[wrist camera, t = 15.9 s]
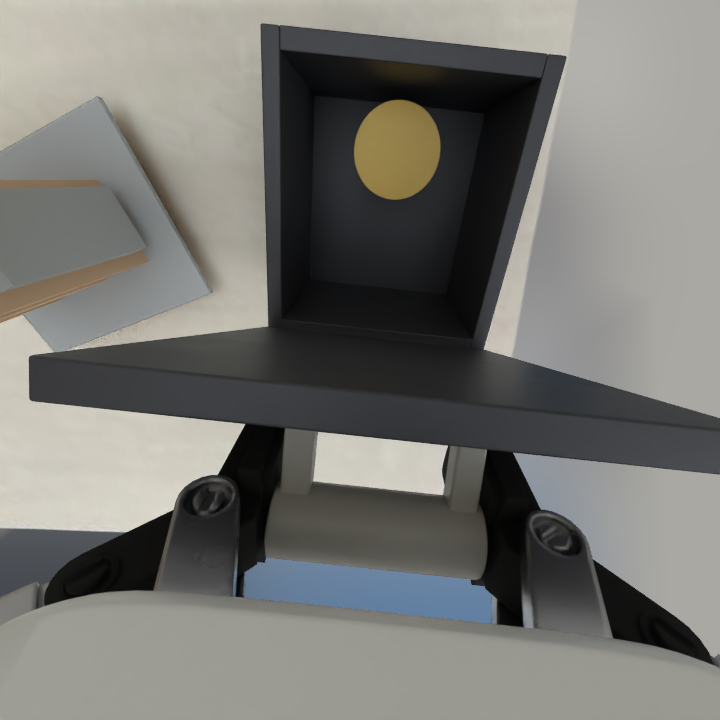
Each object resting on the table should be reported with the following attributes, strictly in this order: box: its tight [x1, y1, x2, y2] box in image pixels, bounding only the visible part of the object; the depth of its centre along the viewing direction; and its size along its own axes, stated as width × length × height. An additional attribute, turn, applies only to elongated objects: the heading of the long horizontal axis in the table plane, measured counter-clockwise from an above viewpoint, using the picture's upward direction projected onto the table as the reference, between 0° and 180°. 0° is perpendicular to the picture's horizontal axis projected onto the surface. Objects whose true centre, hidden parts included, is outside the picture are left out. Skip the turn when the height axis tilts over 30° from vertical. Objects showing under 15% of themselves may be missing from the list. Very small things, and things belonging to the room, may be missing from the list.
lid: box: [29, 327, 720, 580], centre depth 13 cm, size 14×13×5 cm
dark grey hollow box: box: [261, 23, 566, 350], centre depth 22 cm, size 14×13×10 cm
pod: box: [354, 100, 440, 200], centre depth 22 cm, size 5×5×5 cm
